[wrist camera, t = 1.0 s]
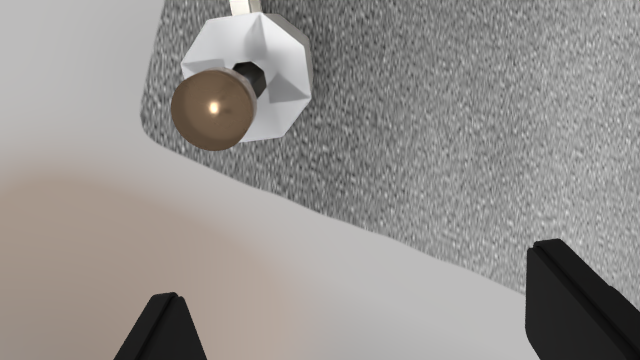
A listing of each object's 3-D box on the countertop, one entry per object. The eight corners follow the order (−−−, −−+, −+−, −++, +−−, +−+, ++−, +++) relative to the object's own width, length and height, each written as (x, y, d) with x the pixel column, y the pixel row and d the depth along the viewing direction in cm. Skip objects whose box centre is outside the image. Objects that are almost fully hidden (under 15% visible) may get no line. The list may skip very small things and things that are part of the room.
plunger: (233, 50, 36) (161, 78, 20) (278, 43, 36) (241, 67, 20) (242, 94, 38) (182, 155, 21) (285, 89, 37) (256, 145, 21)
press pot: (209, -5, 40) (161, -12, 28) (302, -18, 39) (292, -32, 28) (234, 111, 44) (201, 147, 32) (318, 100, 44) (316, 132, 32)
